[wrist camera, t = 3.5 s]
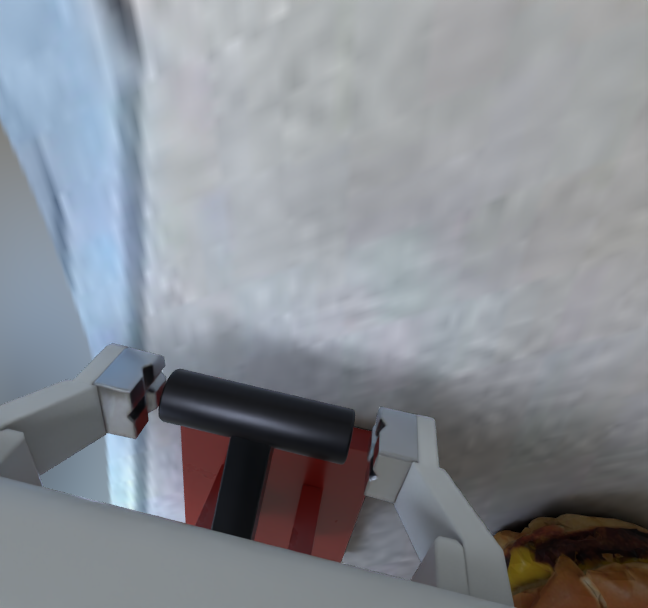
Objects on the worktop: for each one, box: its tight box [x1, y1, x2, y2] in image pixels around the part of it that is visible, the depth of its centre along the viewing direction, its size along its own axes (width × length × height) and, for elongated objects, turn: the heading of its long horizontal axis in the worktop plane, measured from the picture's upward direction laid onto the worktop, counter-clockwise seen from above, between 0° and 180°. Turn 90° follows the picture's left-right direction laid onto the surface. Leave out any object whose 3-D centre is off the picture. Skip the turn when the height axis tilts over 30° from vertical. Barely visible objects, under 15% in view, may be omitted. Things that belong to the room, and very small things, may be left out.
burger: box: [493, 514, 648, 608], centre depth 19 cm, size 10×9×5 cm
